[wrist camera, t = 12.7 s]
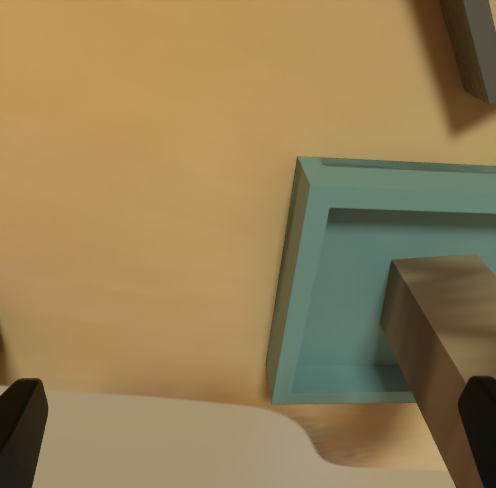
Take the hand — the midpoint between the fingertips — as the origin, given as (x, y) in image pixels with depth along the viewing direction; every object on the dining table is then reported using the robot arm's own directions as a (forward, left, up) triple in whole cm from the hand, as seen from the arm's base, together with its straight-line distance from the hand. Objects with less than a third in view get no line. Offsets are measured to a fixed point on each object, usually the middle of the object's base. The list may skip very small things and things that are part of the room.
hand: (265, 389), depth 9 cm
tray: (+11, -7, -13) cm, 18 cm away
